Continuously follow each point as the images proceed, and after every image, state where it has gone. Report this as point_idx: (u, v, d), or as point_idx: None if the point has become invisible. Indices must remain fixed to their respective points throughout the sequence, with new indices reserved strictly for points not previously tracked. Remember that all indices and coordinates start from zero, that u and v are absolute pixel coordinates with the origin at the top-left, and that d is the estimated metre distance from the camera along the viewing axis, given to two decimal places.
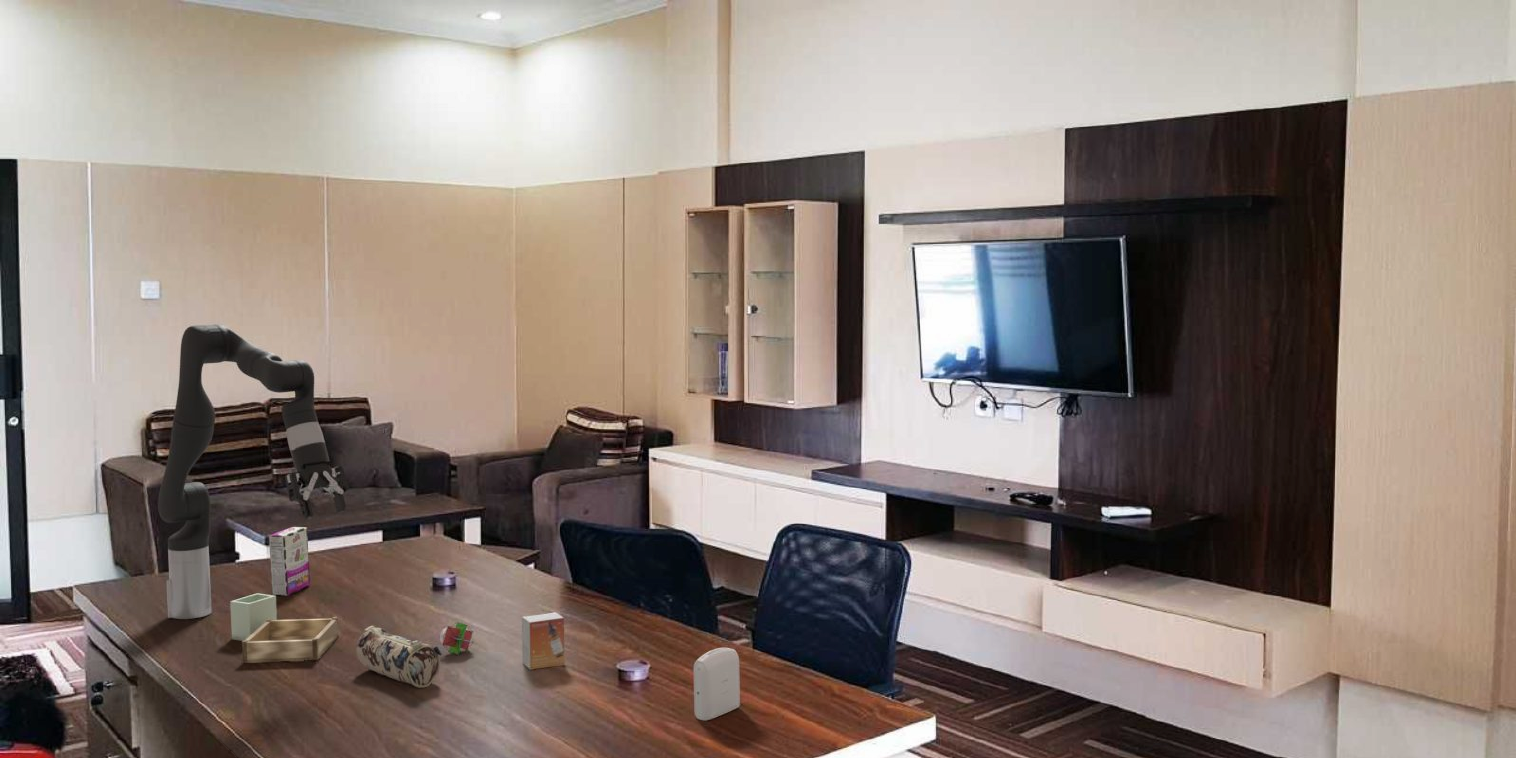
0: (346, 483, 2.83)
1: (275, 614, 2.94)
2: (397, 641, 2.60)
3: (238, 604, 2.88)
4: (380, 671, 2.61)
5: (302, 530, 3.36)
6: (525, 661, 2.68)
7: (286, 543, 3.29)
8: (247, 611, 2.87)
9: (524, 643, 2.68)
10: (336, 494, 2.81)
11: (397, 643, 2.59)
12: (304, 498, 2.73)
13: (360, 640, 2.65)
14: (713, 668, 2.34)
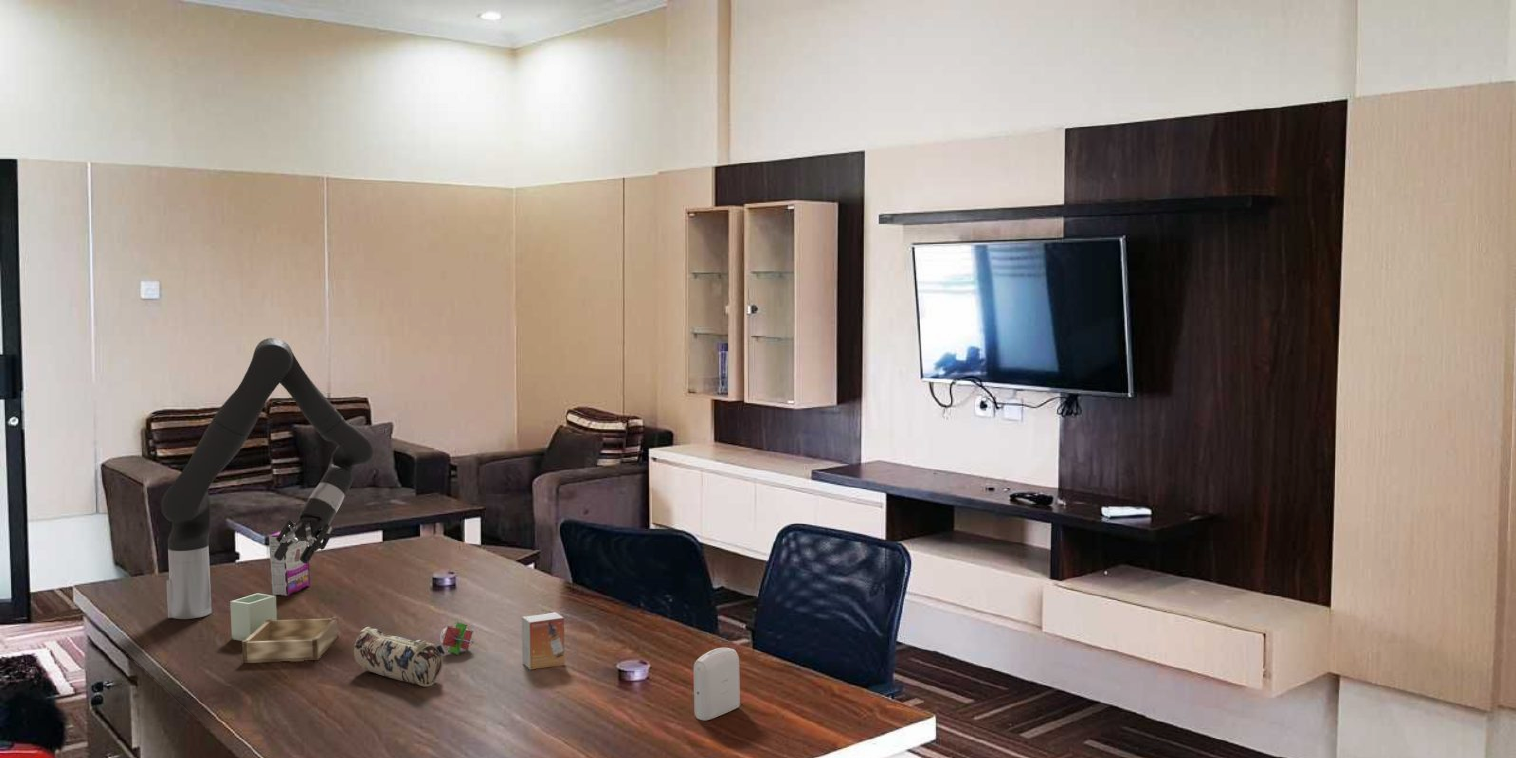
0: None
1: (275, 614, 2.94)
2: (398, 641, 2.60)
3: (238, 604, 2.88)
4: (380, 672, 2.60)
5: None
6: (525, 661, 2.68)
7: None
8: (247, 611, 2.87)
9: (524, 643, 2.68)
10: (286, 545, 3.06)
11: (399, 643, 2.59)
12: None
13: (357, 641, 2.64)
14: (713, 668, 2.34)
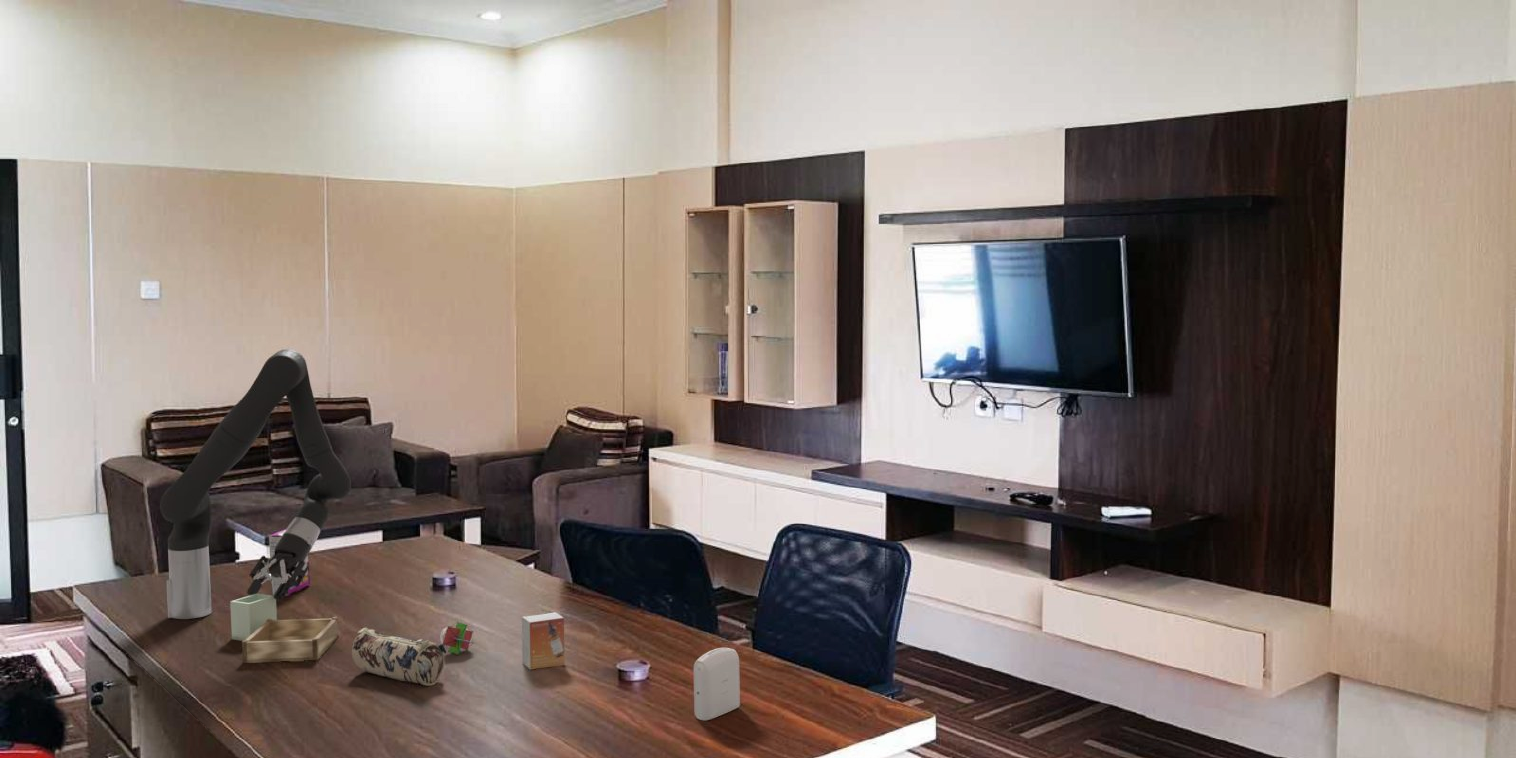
0: None
1: (275, 614, 2.94)
2: (399, 641, 2.60)
3: (238, 604, 2.88)
4: (380, 672, 2.60)
5: None
6: (525, 661, 2.68)
7: None
8: (247, 611, 2.87)
9: (524, 643, 2.68)
10: (260, 581, 2.99)
11: (400, 643, 2.59)
12: None
13: (356, 642, 2.63)
14: (713, 668, 2.34)
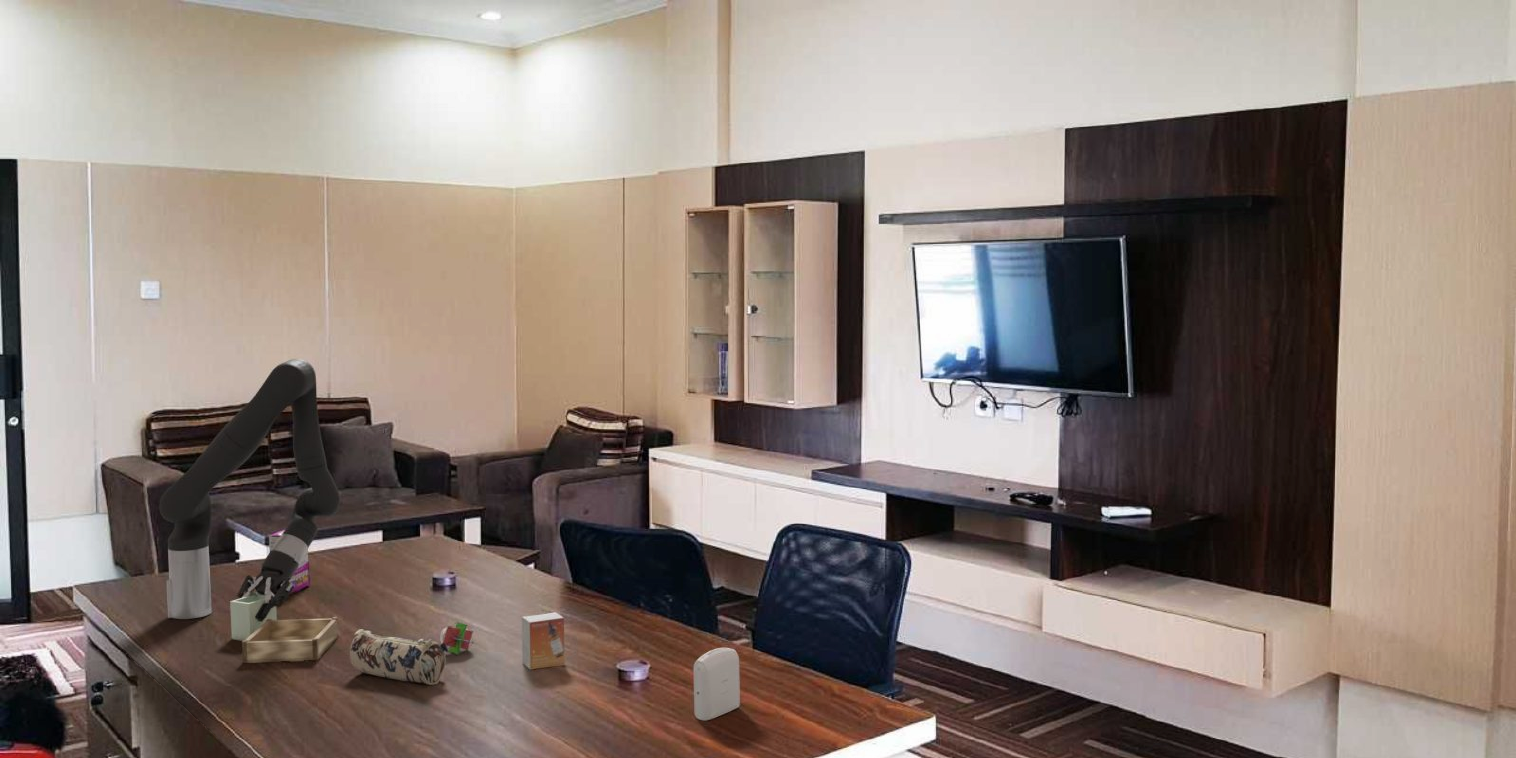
0: None
1: (275, 614, 2.94)
2: (399, 641, 2.59)
3: (238, 604, 2.88)
4: (380, 673, 2.60)
5: None
6: (525, 661, 2.68)
7: None
8: (247, 611, 2.87)
9: (524, 643, 2.68)
10: None
11: (400, 643, 2.59)
12: None
13: (353, 644, 2.62)
14: (712, 668, 2.34)
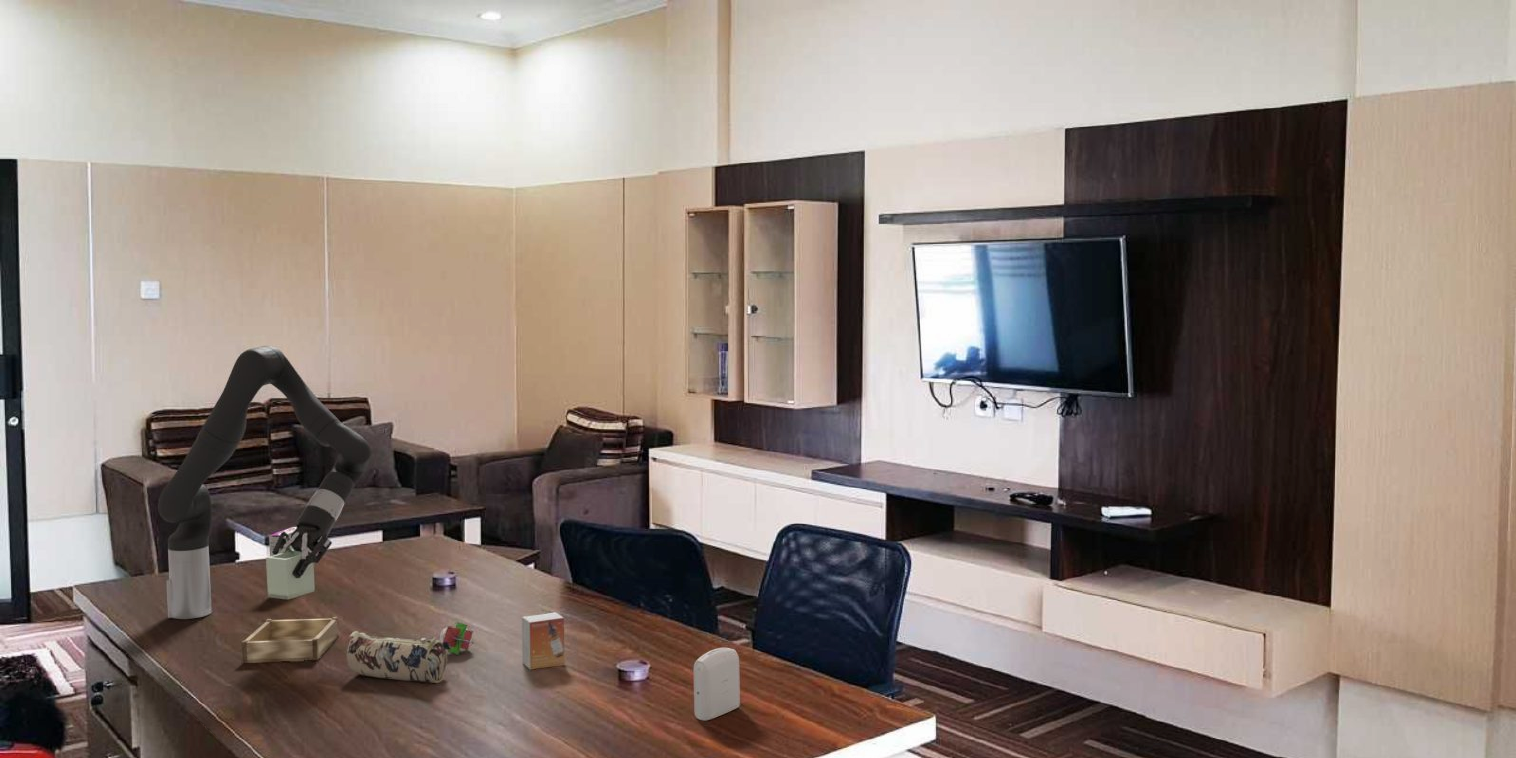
0: None
1: (312, 571, 2.83)
2: (400, 641, 2.59)
3: (274, 560, 2.77)
4: (381, 674, 2.59)
5: None
6: (525, 661, 2.68)
7: None
8: (284, 567, 2.76)
9: (524, 643, 2.68)
10: None
11: (402, 643, 2.59)
12: None
13: (350, 646, 2.60)
14: (713, 668, 2.34)
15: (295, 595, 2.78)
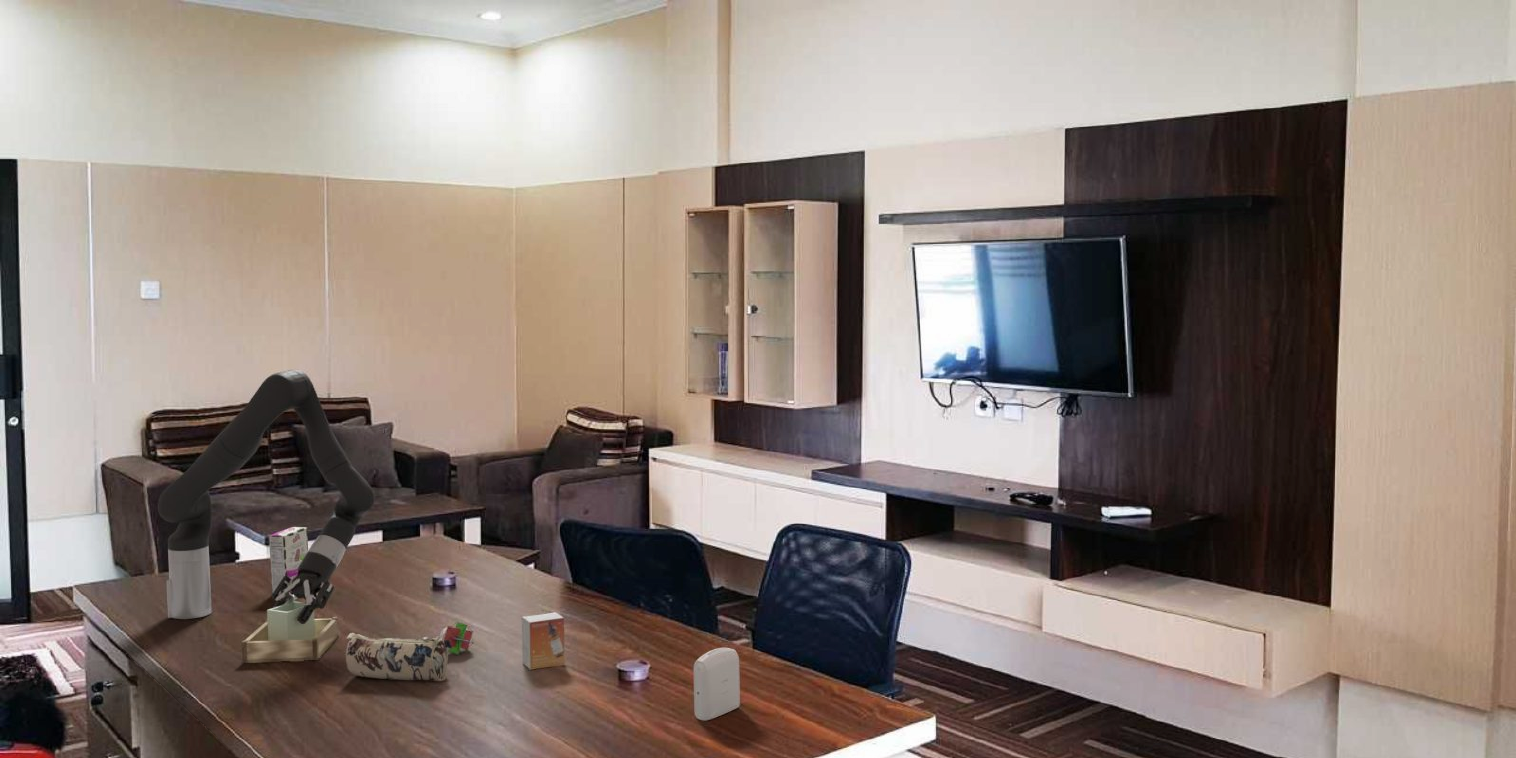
0: None
1: (313, 623, 2.83)
2: (401, 641, 2.59)
3: (275, 613, 2.78)
4: (382, 674, 2.58)
5: (302, 530, 3.36)
6: (525, 661, 2.68)
7: (286, 543, 3.29)
8: (285, 620, 2.77)
9: (524, 643, 2.68)
10: (282, 602, 2.84)
11: (404, 643, 2.59)
12: None
13: (349, 648, 2.59)
14: (713, 668, 2.34)
15: None
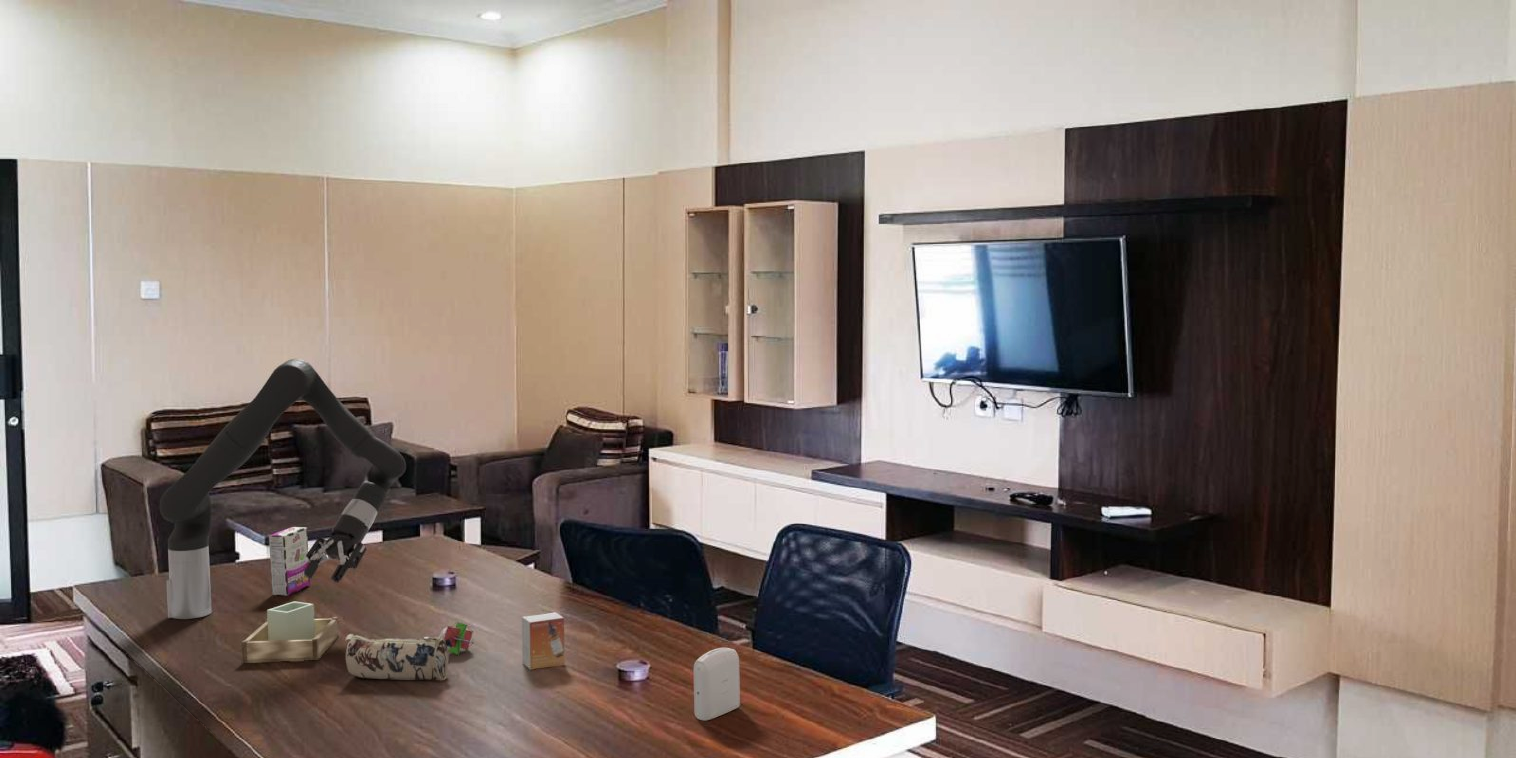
0: None
1: (313, 623, 2.83)
2: (402, 641, 2.59)
3: (275, 613, 2.78)
4: (383, 675, 2.58)
5: (302, 530, 3.36)
6: (525, 661, 2.68)
7: (286, 543, 3.29)
8: (285, 620, 2.77)
9: (524, 643, 2.68)
10: (316, 562, 2.97)
11: (405, 643, 2.59)
12: None
13: (349, 649, 2.58)
14: (713, 668, 2.34)
15: None
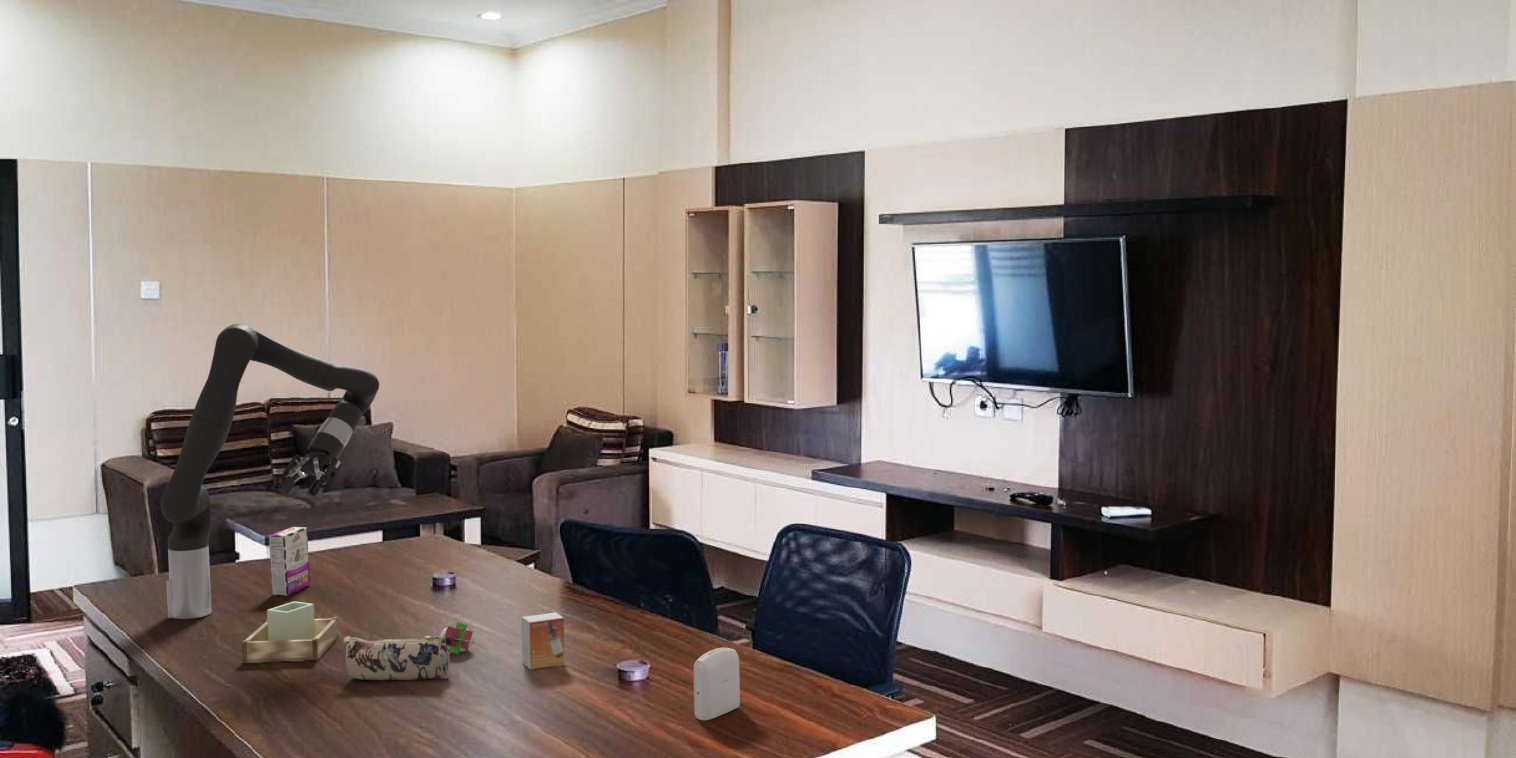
0: None
1: (313, 623, 2.83)
2: (403, 641, 2.59)
3: (275, 613, 2.78)
4: (385, 676, 2.58)
5: (302, 530, 3.36)
6: (525, 661, 2.68)
7: (286, 543, 3.29)
8: (285, 620, 2.77)
9: (524, 643, 2.68)
10: (293, 479, 3.01)
11: (406, 643, 2.59)
12: None
13: (349, 651, 2.57)
14: (713, 668, 2.34)
15: None
